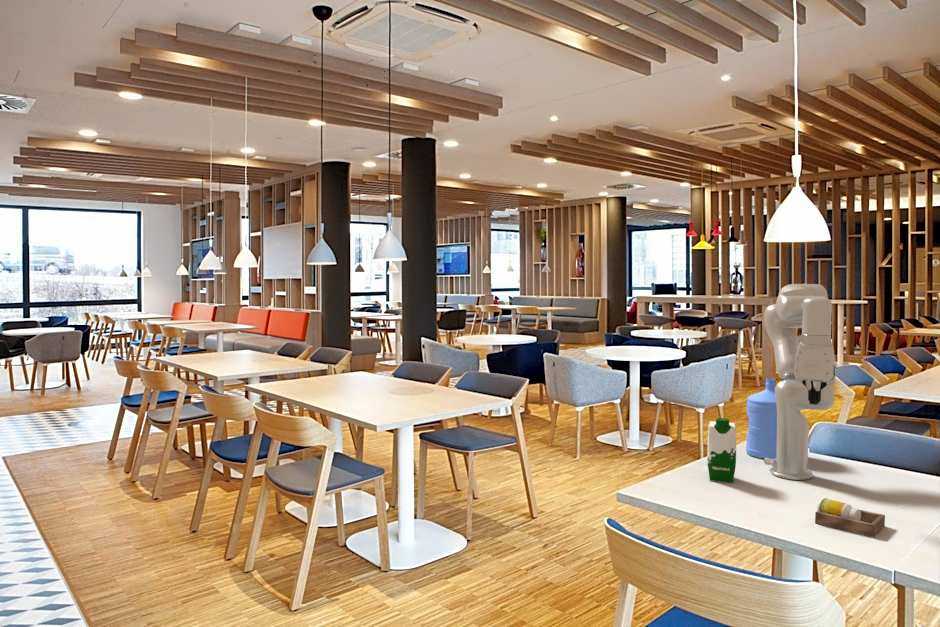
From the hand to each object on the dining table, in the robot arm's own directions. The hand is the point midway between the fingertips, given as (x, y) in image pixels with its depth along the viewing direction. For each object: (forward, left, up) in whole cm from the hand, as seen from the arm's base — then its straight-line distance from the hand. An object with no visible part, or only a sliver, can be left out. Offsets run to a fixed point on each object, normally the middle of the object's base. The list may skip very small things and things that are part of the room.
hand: (814, 403), depth 202 cm
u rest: (+14, -12, -29) cm, 34 cm away
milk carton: (-29, +4, -29) cm, 41 cm away
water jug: (-29, +44, -29) cm, 60 cm away
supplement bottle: (+6, -11, -26) cm, 29 cm away
